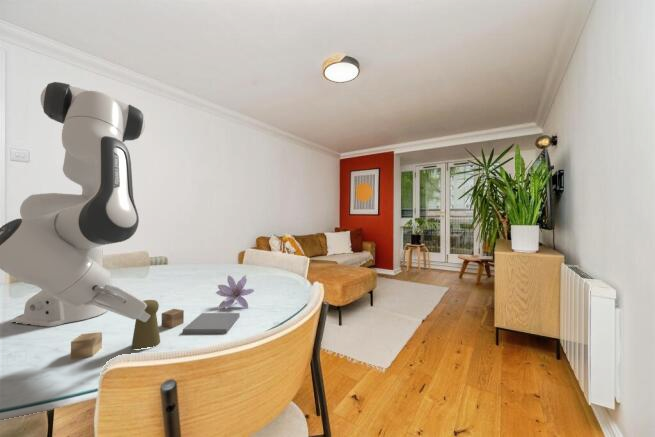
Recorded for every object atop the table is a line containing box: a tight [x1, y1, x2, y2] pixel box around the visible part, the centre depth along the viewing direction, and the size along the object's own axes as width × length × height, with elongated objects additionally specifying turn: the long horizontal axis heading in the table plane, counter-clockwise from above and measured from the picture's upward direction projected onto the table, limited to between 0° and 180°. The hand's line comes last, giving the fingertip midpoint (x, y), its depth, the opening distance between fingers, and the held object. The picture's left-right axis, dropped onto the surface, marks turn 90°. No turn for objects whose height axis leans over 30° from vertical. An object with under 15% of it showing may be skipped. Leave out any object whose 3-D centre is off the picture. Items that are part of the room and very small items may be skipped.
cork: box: [130, 299, 161, 350], centre depth 65 cm, size 6×6×11 cm
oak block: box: [70, 331, 103, 360], centre depth 61 cm, size 4×4×4 cm
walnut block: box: [161, 308, 185, 329], centre depth 77 cm, size 4×4×4 cm
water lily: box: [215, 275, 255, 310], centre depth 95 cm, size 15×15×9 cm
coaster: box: [182, 312, 240, 335], centre depth 77 cm, size 12×12×1 cm
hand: (136, 315), depth 63 cm, fingers open, 8 cm apart
